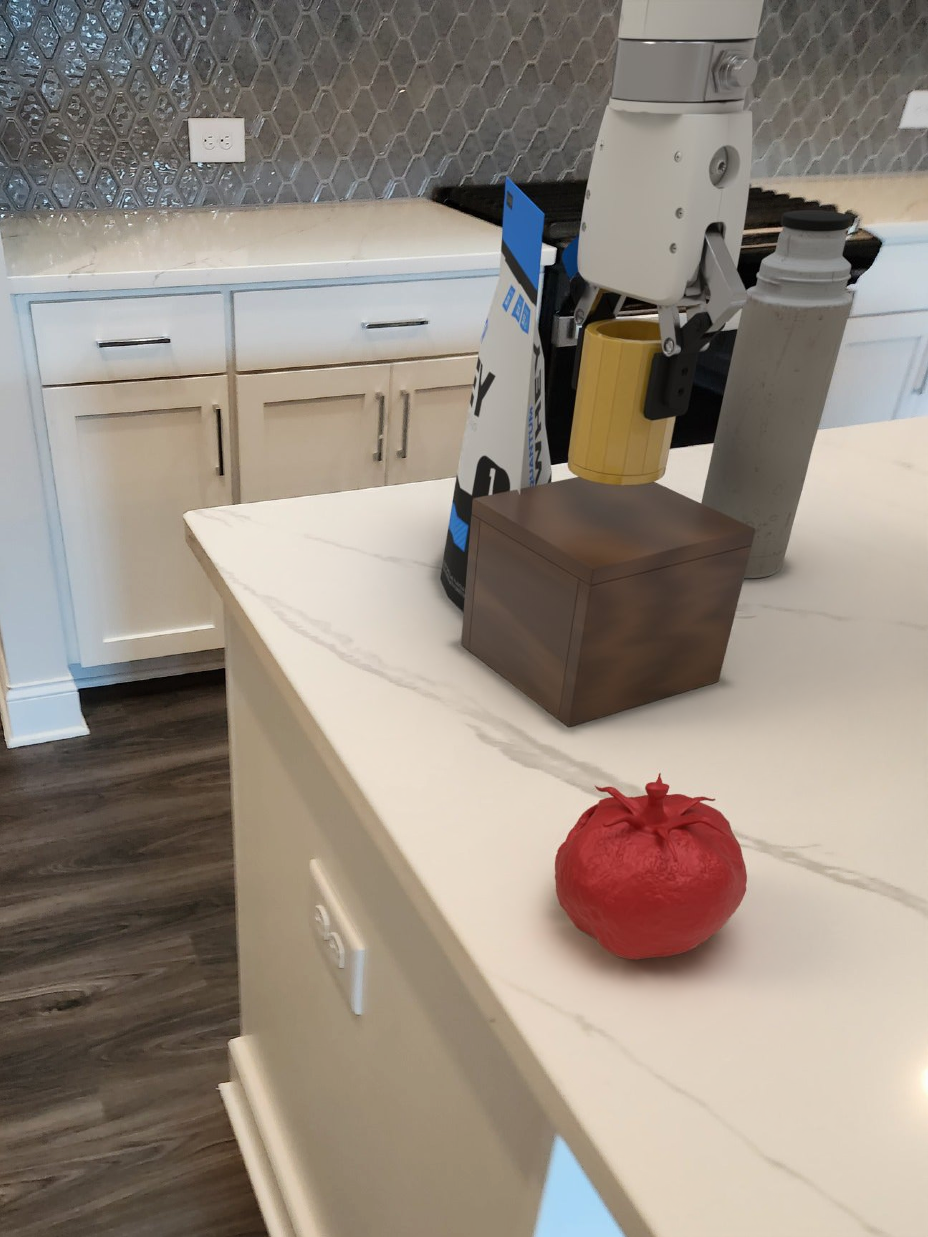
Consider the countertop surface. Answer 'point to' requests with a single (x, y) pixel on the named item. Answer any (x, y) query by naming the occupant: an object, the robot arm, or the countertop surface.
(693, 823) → the pomegranate
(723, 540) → the walnut box
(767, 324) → the thermos bottle
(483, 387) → the protein powder
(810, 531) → the countertop surface
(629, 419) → the cup
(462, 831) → the countertop surface
